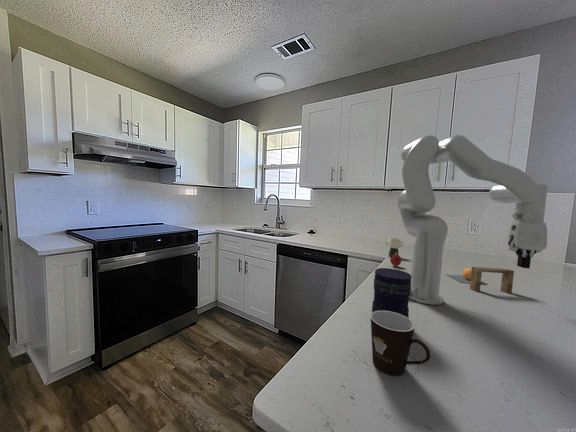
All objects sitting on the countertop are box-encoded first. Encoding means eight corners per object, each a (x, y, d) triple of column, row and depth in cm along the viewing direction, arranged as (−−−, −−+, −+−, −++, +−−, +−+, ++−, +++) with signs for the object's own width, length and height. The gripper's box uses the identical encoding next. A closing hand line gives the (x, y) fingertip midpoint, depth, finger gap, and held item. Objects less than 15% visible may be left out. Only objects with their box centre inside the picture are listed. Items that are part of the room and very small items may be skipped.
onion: (402, 268, 129) (403, 254, 129) (391, 267, 130) (392, 253, 130) (399, 265, 135) (400, 252, 135) (388, 264, 136) (389, 251, 136)
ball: (459, 267, 117) (460, 279, 116) (466, 268, 112) (468, 281, 111) (472, 267, 116) (474, 280, 115) (480, 268, 111) (482, 281, 110)
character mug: (403, 257, 157) (405, 238, 156) (400, 259, 151) (402, 239, 150) (386, 255, 164) (388, 236, 163) (383, 256, 158) (384, 237, 157)
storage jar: (391, 335, 61) (396, 280, 61) (363, 318, 70) (367, 269, 69) (415, 327, 66) (419, 276, 65) (386, 312, 75) (390, 266, 74)
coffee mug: (361, 352, 54) (364, 310, 53) (396, 352, 55) (399, 310, 54) (386, 393, 42) (390, 340, 42) (431, 392, 43) (435, 340, 42)
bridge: (511, 293, 98) (514, 270, 97) (474, 291, 99) (477, 268, 98) (505, 290, 101) (507, 268, 100) (469, 288, 102) (471, 266, 101)
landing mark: (461, 282, 109) (461, 282, 109) (445, 274, 121) (445, 274, 121) (487, 284, 108) (487, 284, 108) (468, 276, 120) (468, 275, 120)
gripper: (517, 217, 81) (511, 268, 82) (561, 219, 81) (555, 271, 82) (498, 216, 89) (493, 263, 90) (539, 218, 88) (533, 265, 89)
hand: (523, 267), depth 86 cm, fingers closed
